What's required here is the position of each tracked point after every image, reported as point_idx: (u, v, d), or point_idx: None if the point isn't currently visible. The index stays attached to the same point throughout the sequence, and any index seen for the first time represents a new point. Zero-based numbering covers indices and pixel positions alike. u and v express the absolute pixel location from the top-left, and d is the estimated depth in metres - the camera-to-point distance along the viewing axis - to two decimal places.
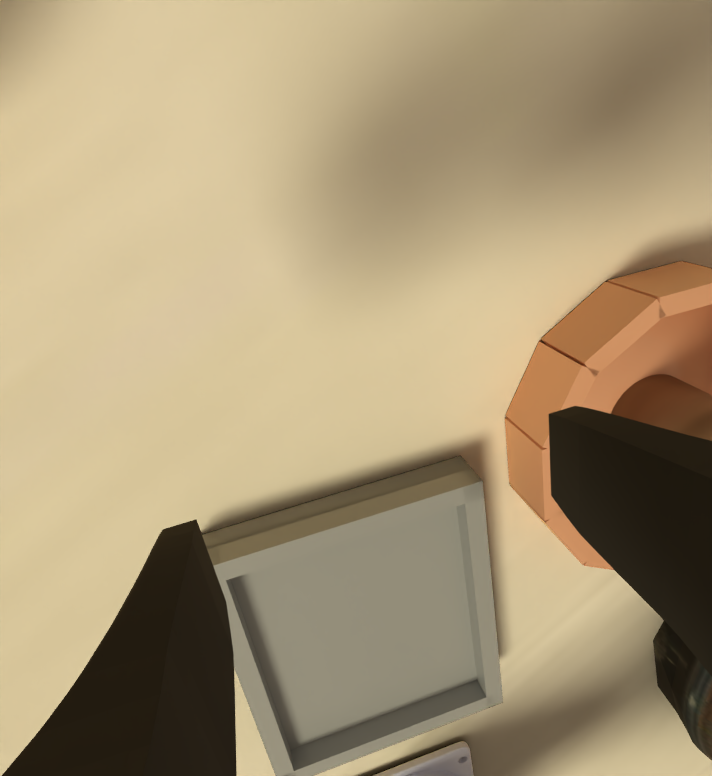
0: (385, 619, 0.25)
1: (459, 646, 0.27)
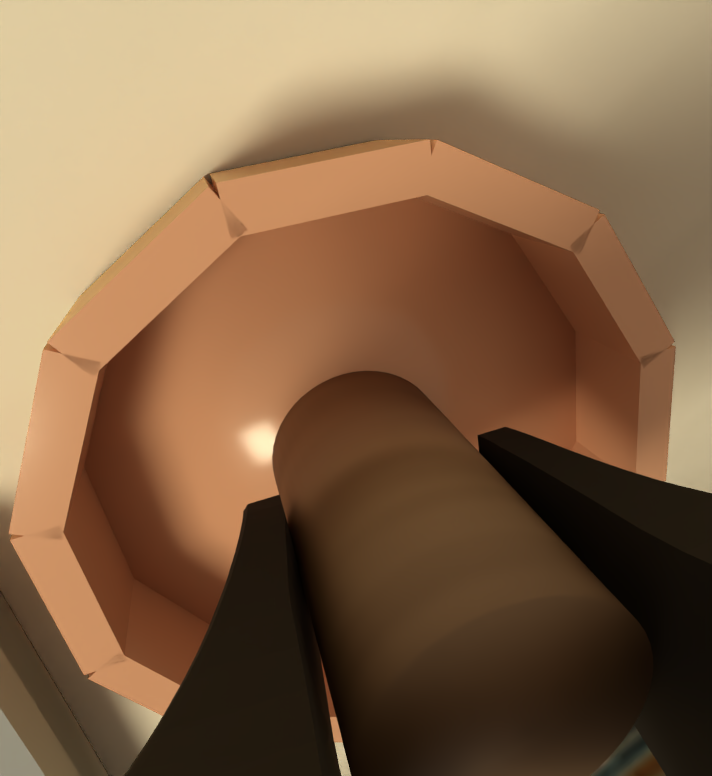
0: None
1: None
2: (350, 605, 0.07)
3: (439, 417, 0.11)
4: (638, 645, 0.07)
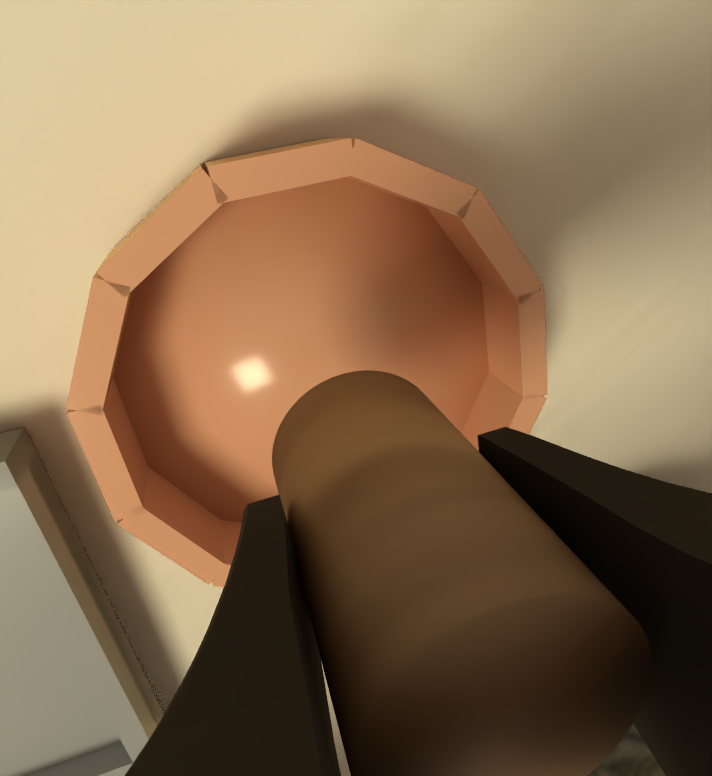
0: None
1: (89, 694, 0.19)
2: (349, 604, 0.07)
3: (438, 417, 0.11)
4: (637, 644, 0.07)
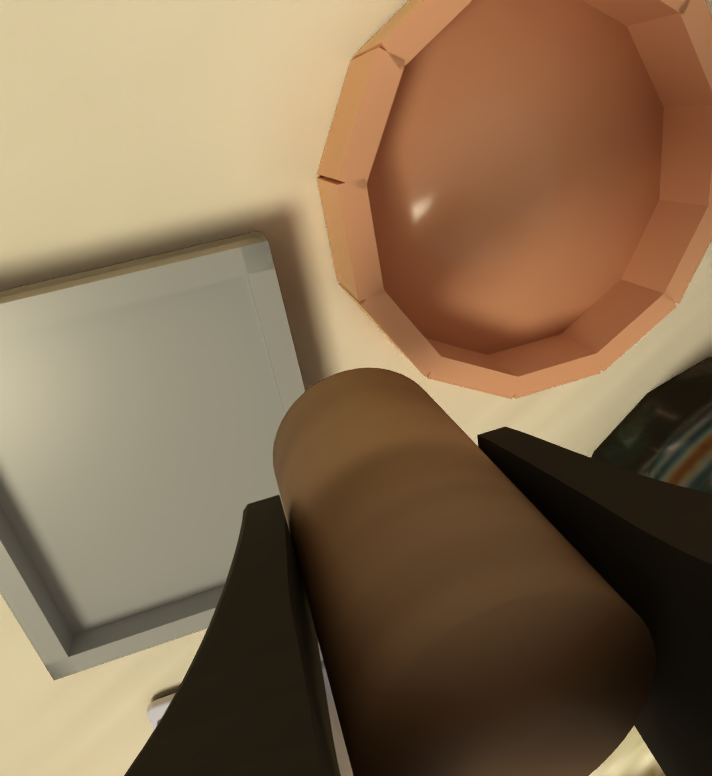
0: (175, 456, 0.19)
1: None
2: (352, 600, 0.07)
3: (441, 414, 0.11)
4: (641, 642, 0.07)
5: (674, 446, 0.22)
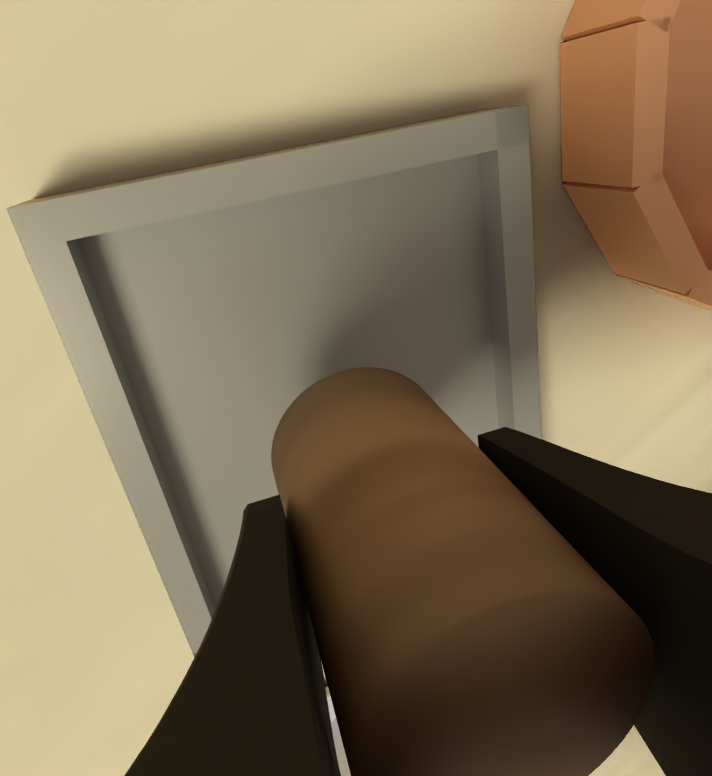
0: None
1: None
2: (350, 599, 0.07)
3: (440, 414, 0.11)
4: (640, 642, 0.07)
5: None
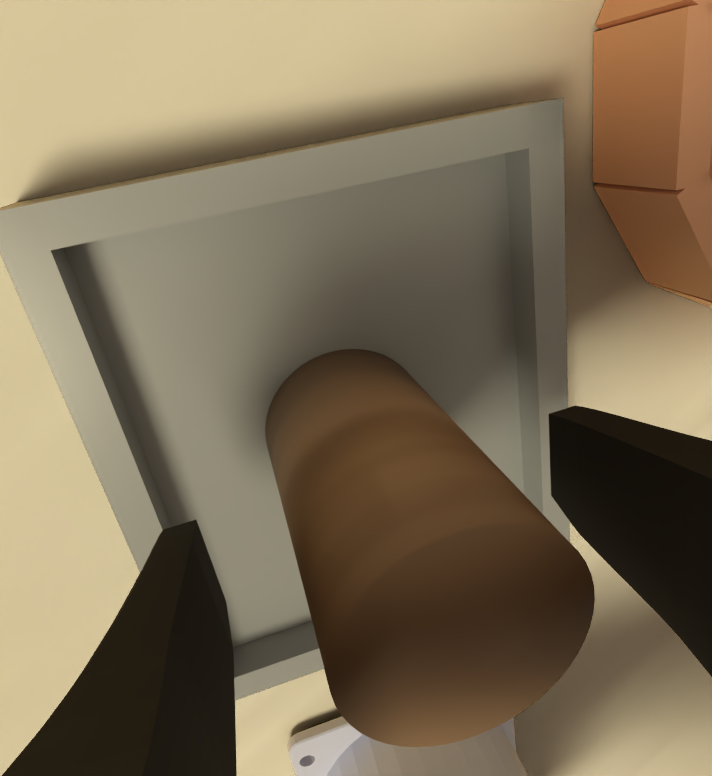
0: None
1: None
2: (329, 539, 0.08)
3: (418, 389, 0.12)
4: (580, 575, 0.08)
5: None
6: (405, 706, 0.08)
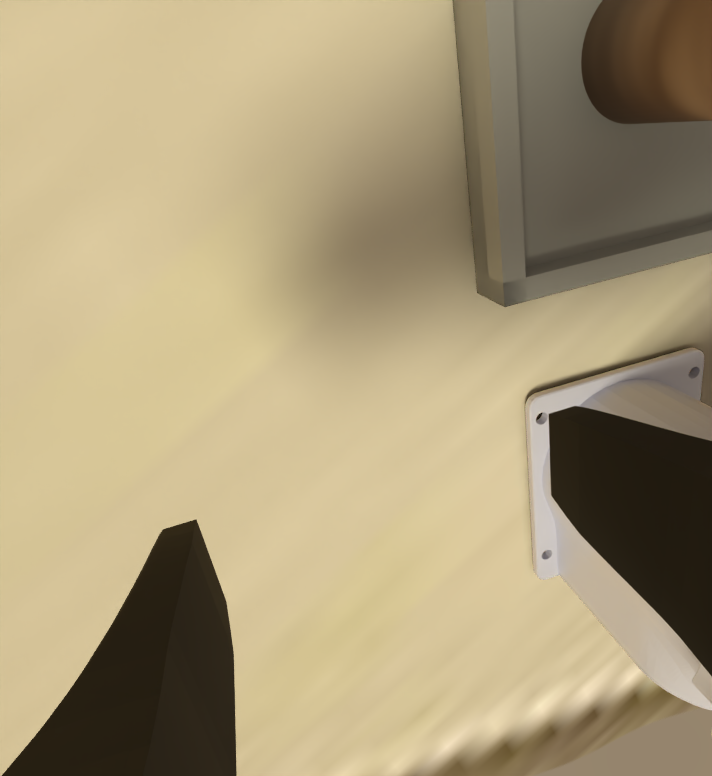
0: None
1: None
2: None
3: None
4: None
5: None
6: None
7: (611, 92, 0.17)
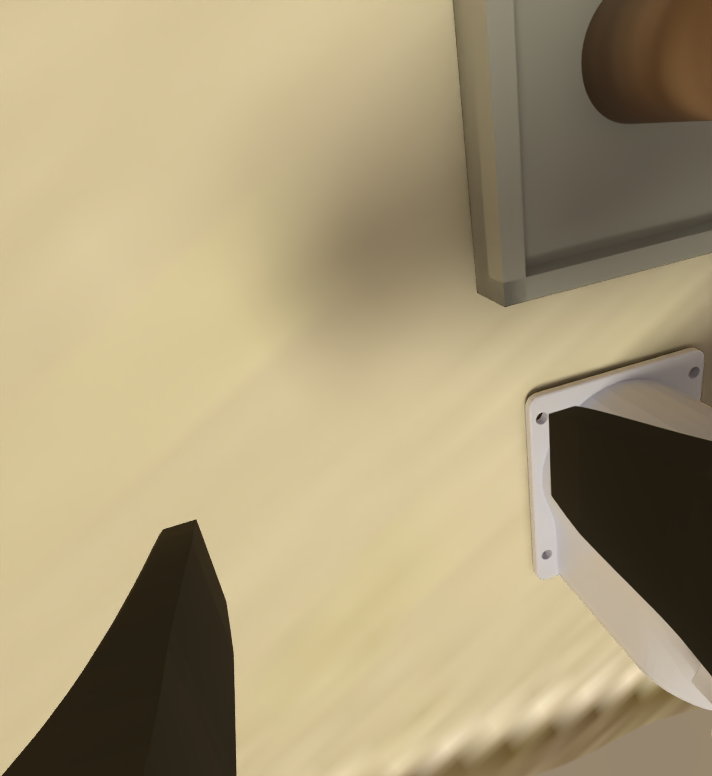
0: None
1: None
2: None
3: None
4: None
5: None
6: None
7: (611, 92, 0.17)
